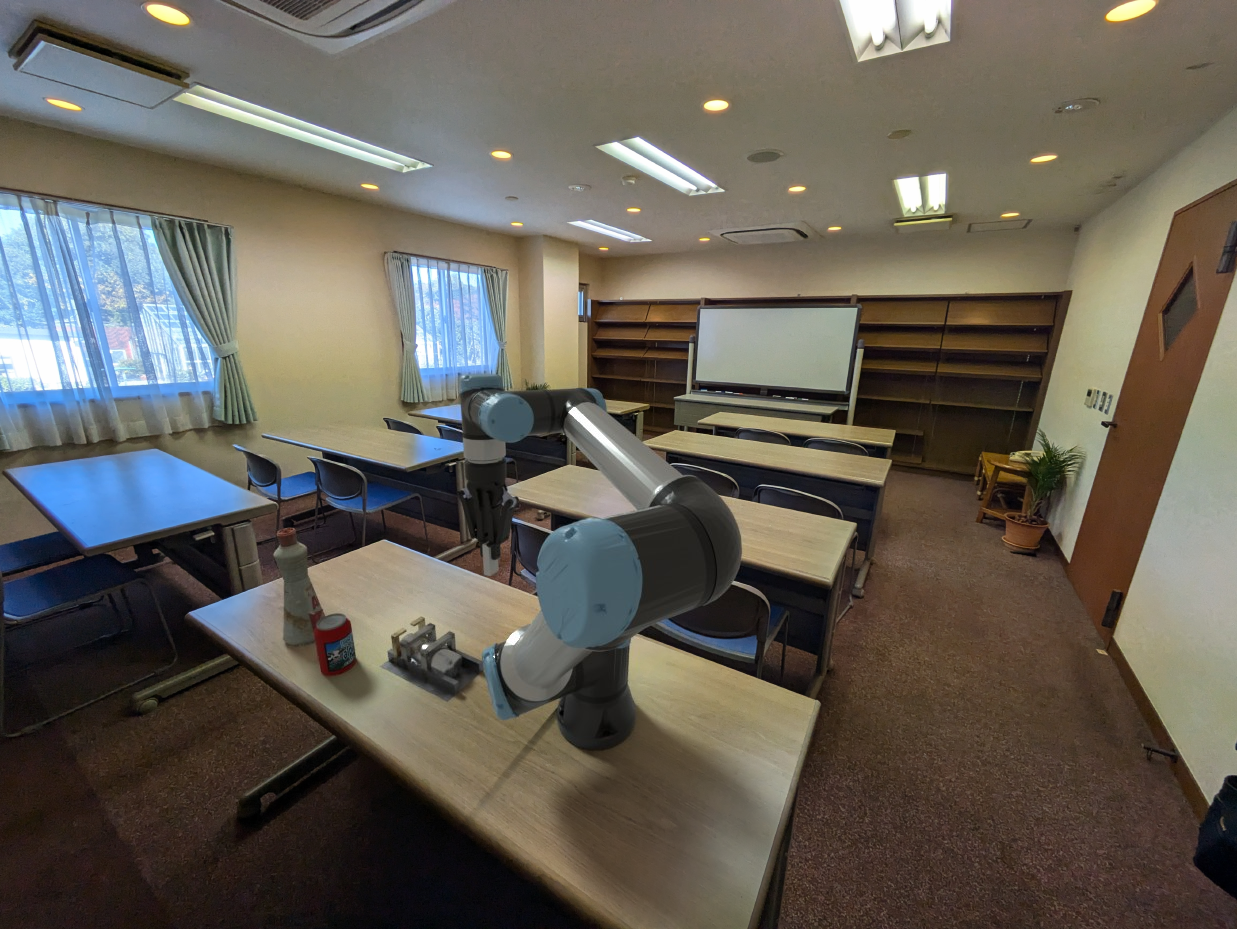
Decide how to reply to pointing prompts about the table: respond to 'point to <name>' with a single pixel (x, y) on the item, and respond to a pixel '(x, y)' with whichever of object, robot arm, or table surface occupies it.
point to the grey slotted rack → (422, 671)
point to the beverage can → (334, 644)
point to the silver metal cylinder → (437, 657)
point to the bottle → (297, 590)
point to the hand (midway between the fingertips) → (491, 572)
